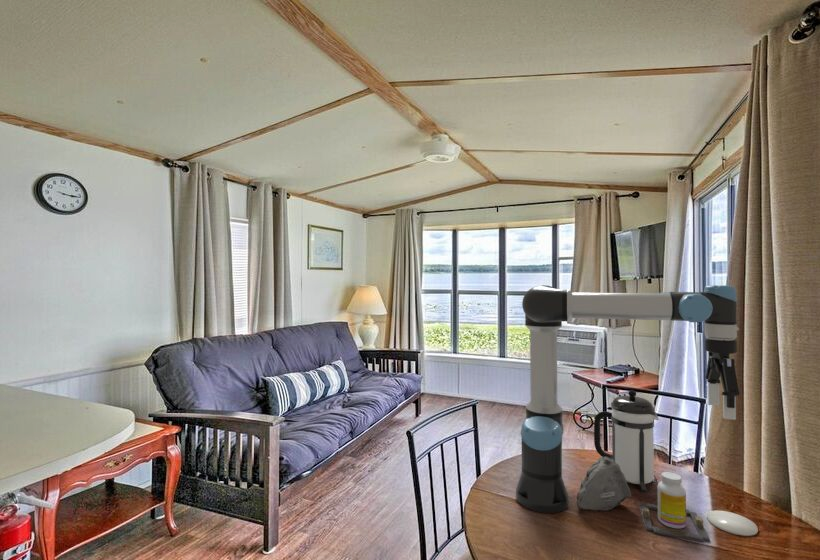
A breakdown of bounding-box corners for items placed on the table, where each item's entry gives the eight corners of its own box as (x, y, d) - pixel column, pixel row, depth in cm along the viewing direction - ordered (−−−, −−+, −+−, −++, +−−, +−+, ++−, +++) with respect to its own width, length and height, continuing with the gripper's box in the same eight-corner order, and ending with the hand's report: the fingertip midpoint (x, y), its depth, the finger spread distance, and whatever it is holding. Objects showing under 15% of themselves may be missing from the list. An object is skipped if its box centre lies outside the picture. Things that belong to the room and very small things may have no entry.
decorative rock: (624, 502, 125) (623, 451, 125) (637, 514, 119) (636, 461, 119) (570, 503, 125) (570, 453, 125) (580, 516, 118) (580, 462, 118)
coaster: (713, 530, 111) (713, 528, 111) (701, 509, 121) (701, 507, 121) (765, 539, 107) (765, 537, 107) (748, 517, 117) (748, 514, 117)
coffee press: (646, 470, 146) (645, 384, 146) (667, 494, 130) (667, 397, 130) (593, 468, 148) (593, 383, 148) (608, 490, 132) (608, 395, 132)
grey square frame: (646, 531, 111) (646, 522, 111) (638, 504, 124) (638, 496, 124) (710, 543, 105) (710, 533, 105) (695, 514, 119) (695, 505, 119)
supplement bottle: (690, 531, 111) (690, 482, 111) (663, 528, 112) (662, 480, 112) (679, 517, 117) (679, 471, 117) (653, 514, 119) (653, 469, 119)
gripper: (754, 345, 109) (754, 427, 109) (721, 333, 132) (722, 401, 132) (719, 343, 111) (719, 423, 111) (693, 332, 135) (694, 398, 135)
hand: (721, 411), depth 122 cm, fingers open, 13 cm apart
